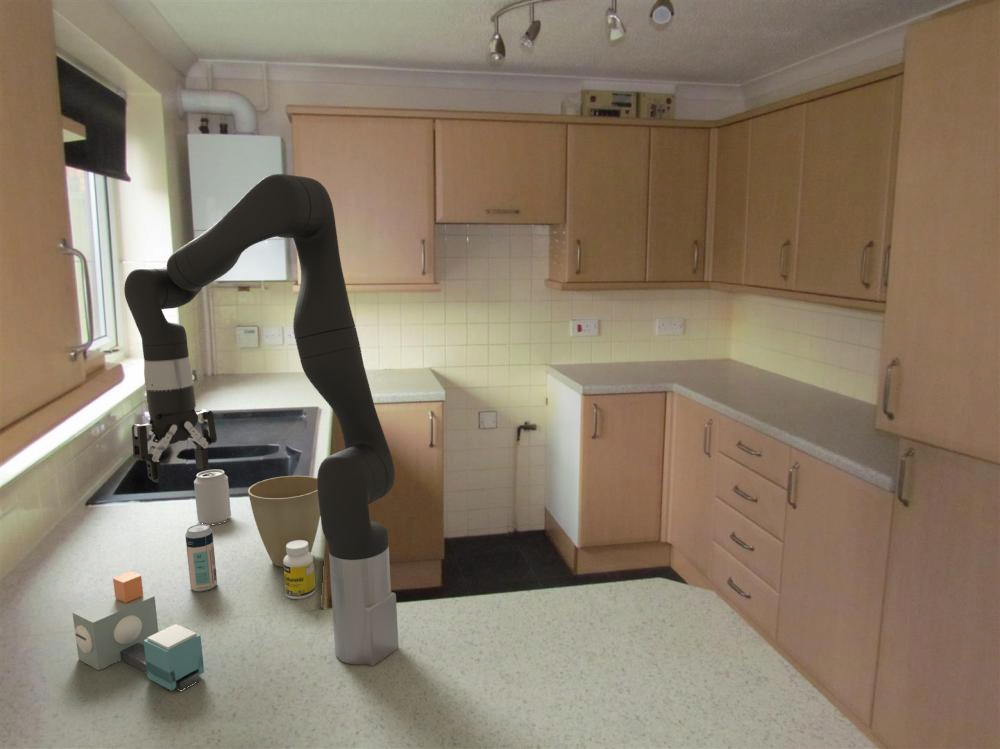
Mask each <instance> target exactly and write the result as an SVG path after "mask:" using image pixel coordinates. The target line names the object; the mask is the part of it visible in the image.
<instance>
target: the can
mask: <svg viewBox="0 0 1000 749" xmlns="http://www.w3.org/2000/svg"><path fill="white" fill-rule="evenodd" d="M195 476H196V478H195V480H193V486H194V487H193V488H194V495H195V496H194V497H195V506H196V515H197V516H196V517H197V522H199V523H201V524H202V523H203V524H206V525H209V526H213V525H212V524H217V525H220V524H219V523H221V524H223V523H222V522H224V521H226V520H227V519H228V520H229V519H230V517H231V516H232V510H231V499H230V497H231V496H230V490H229V489H230V487H229V477H228V476H227V475H226V474H225V471H224V470H223V469H207V470H204V471H203V470H202V471H200V472H198V473H197V474H196V475H195ZM228 520H227V521H228ZM227 521H226V522H227ZM224 523H225V522H224Z"/></svg>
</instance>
